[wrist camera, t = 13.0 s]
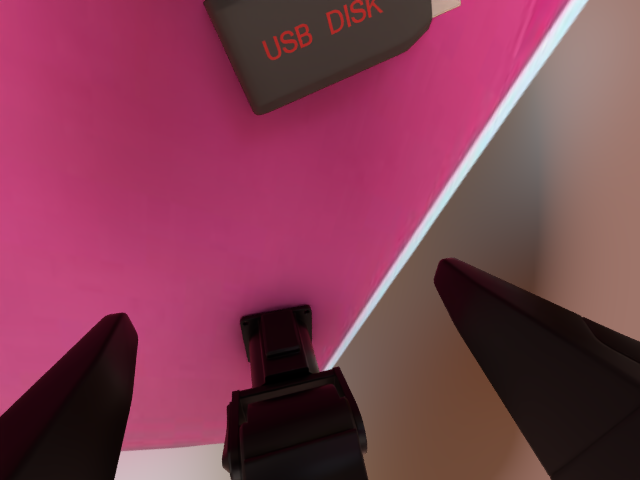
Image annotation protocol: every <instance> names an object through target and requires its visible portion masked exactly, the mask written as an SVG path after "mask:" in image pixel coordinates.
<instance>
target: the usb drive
mask: <svg viewBox="0 0 640 480" xmlns="http://www.w3.org/2000/svg"><path fill="white" fill-rule="evenodd" d="M203 4H204V6H205V8H206V11H207V13H208V15H209V17H210V19H211V21H212V24H213V26H214V28H215V30H216V32H217V34H218V37H219V39H220V41H221V43H222V45H223V47H224V49H225V52H226V54H227V56H228V58H229V60H230V62H231V65H232V67H233V69H234V71H235V73H236V75H237V78H238V80H239V82H240V84H241V86H242V88H243V90H244V93H245V95H246V97H247V99H248V101H249V103H250V106H251V108H252V110H253V112H254V113H255V114H256V115H262V114H265V113H268V112H271V111H273V110H275V109H278V108H280V107H282V106H284V105H287V104H289V103H291V102H293V101H296V100H298V99H300V98H302V97H305V96H307V95H309V94H311V93H314V92H316V91H318V90H320V89H323V88H325V87H327V86H330V85H332V84H334V83H336V82H339V81H341V80H343V79H345V78H348V77H350V76H352V75H354V74H357V73H359V72H361V71H363V70H366V69H368V68H370V67H372V66H375V65H377V64H379V63H381V62H384V61H386V60H388V59H390V58H393V57H395V56H397V55H399V54H401V53H403V52H405V51H407V50H408V49H409V48H410V47H411V46H412V45H413V44H414V43H415V42H416V41H417V40H418V39H419V38H420V37H421V36H422V35H423V34H424V33H425V32H426V31H427V30H428V29H429V26H430V23H431V21H432V18H434V17H436V16H438V15H441V14H443V13H445V12H447V11H450V10H452V9H454V8H456V7H459V6H460V5H461V0H205V1H204V2H203Z"/></svg>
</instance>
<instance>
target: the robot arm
mask: <svg viewBox="0 0 640 480" xmlns="http://www.w3.org/2000/svg"><path fill="white" fill-rule="evenodd" d="M434 284H435V287H436V289H437V291H438V293H439V295H440V297H441V299H442V301H443V303H444V305H445V307H446V309H447V311H448V313H449V315H450V317H451V319H452V321H453V323H454V325H455V326H456V328H457V330H458V332H459V333H460V335H461V337H462V338H463V340H464V341H465V343H466V345H467V346H468V348H469V349H470V351H471V353H472V354H473V356H474V357H475V359H476V360H477V362H478V364H479V365H480V367H481V368H482V370H483V372H484V373H485V375H486V376H487V378H488V380H489V381H490V383H491V384H492V386H493V387H494V389H495V391H496V392H497V394H498V396H499V397H500V399H501V400H502V402H503V403H504V405H505V407H506V408H507V410H508V411H509V413H510V414H511V416H512V418H513V419H514V421H515V422H516V424H517V426H518V427H519V429H520V430H521V432H522V434H523V435H524V437H525V438H526V440H527V442H528V443H529V445H530V446H531V448H532V450H533V451H534V453H535V454H536V456H537V458H538V459H539V461H540V462H541V464H542V466H543V467H544V469H545V470H546V472H547V474H548V475H549V476H550V478H551V480H640V342H639V341H637V340H635V339H632V338H630V337H627V336H625V335H623V334H620V333H618V332H616V331H613V330H611V329H609V328H607V327H605V326H602V325H600V324H598V323H596V322H593V321H591V320H589V319H587V318H585V317H581V316H580V315H578V314H576V313H574V312H572V311H569V310H567V309H565V308H563V307H561V306H559V305H556V304H554V303H552V302H550V301H548V300H545V299H543V298H541V297H539V296H536V295H535V294H532V293H530V292H528V291H526V290H523V289H521V288H519V287H517V286H515V285H513V284H510V283H508V282H506V281H504V280H501V279H500V278H497V277H495V276H493V275H491V274H489V273H486V272H484V271H482V270H480V269H478V268H476V267H473V266H471V265H469V264H467V263H465V262H463V261H460V260H458V259H456V258H446V259H442V260H441V261H440V262H439V264H438V267H437V270H436V274H435V277H434ZM305 310H306V311H305ZM240 325H241V330H242V335H243V340H244V344H245V349H246V354H247V358H248V362H250V366H251V378H252V388H251V389H247V390H242V391H240V390H237V391H233V392H232V402H230V404H229V405H228V406H227V431H226V437H225V443H224V450H223V455H222V466H223V468H224V469H225V470H227V471H228V472H229V473H230V477H231V480H368V476H367V472H366V468H365V463H364V459H363V454H366V453H367V439H366V433H365V429H364V425H363V421H362V417H361V414H360V411H359V409H358V406H357V404H356V401H355V399H354V397H353V395H352V393H351V391H350V389H349V387H348V385H347V382H346V380H345V378H344V376H343V374H342V372H341V370H340V367H334V368H333V369H331V370H327V371H323V372H319V368H318V365H317V361H316V357H315V354H314V350H313V346H312V310H311V307H310V306H309V305H304V306H298V307H293V308H288V309H282V310H277V311H271V312H266V313H261V314H255V315H250V316H245V317H242V318H241V319H240ZM137 346H138V335H137V332H136V330H135V328H134V326H133V324H132V322H131V321H130V319H129V317H128V315H127V314H126V313H116V314H110V315H107V316H105V317H104V318H103V319H101V320H100V321H99V322H98V323H97V324H96V325H95V326H94V327H93V328H92V329H91V330H90V331H89V332H88V333H87V334H86V335H85V336H84V337H83V338H82V339H81V340H80V341H79V342H78V343H77V344H75V345H74V346H73V347H72V348H71V349H70V350H69V351H68V352H67V353H66V354H65V355H64V356H63V357H62V358H61V359H60V360H59V361H58V362H57V363H56V364H55V365H54V366H53V367H52V368H50V369H49V370H48V371H47V372H46V373H45V374H44V375H43V376H42V377H41V378H40V379H39V380H38V381H37V382H36V383H35V384H34V385H33V386H32V387H31V388H30V389H29V390H28V391H27V392H26V393H24V394H23V395H22V396H21V397H20V398H19V399H18V400H17V401H16V402H15V403H14V404H13V405H12V406H11V407H10V408H9V409H8V410H7V411H6V412H5V413H4V414H3V415H2V416H1V417H0V480H114V478H115V474H116V469H117V464H118V460H119V456H120V451H121V447H122V442H123V438H124V434H125V429H126V425H127V420H128V416H129V411H130V406H131V401H132V394H133V386H134V376H135V366H136V356H137Z"/></svg>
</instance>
